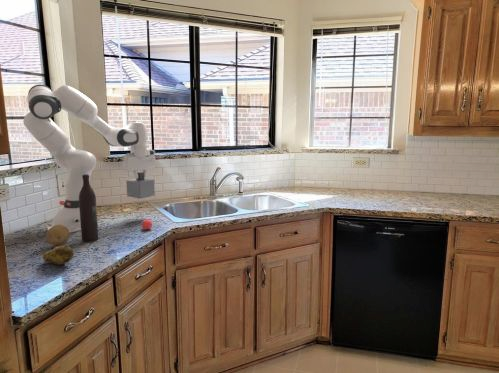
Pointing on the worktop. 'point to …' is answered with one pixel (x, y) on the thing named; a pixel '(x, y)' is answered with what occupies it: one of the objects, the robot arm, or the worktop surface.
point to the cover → (140, 187)
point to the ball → (146, 224)
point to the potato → (59, 255)
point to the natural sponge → (57, 235)
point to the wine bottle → (88, 211)
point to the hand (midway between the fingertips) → (140, 177)
